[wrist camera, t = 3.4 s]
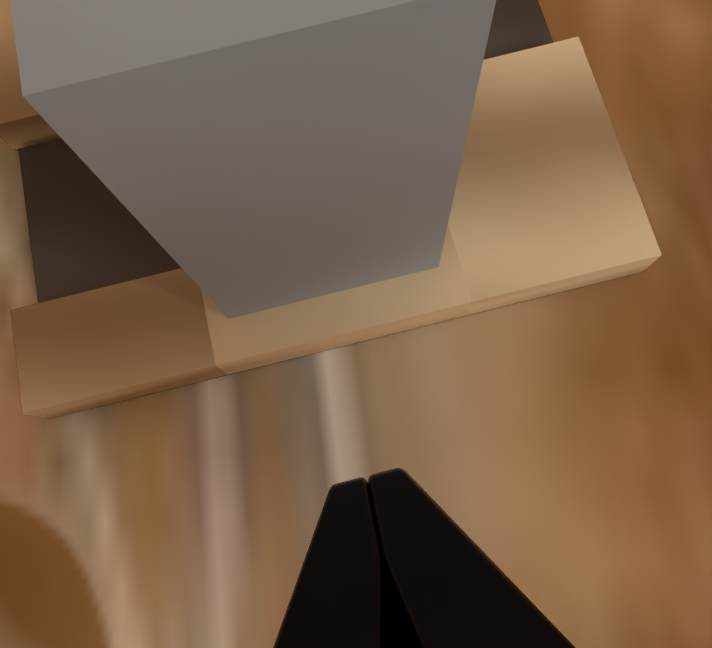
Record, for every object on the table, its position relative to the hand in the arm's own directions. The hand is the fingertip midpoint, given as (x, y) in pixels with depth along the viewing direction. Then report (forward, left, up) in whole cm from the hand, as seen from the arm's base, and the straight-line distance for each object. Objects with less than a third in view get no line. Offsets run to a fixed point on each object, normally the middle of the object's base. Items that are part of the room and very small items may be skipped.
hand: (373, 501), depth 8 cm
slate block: (+6, +4, -7) cm, 10 cm away
